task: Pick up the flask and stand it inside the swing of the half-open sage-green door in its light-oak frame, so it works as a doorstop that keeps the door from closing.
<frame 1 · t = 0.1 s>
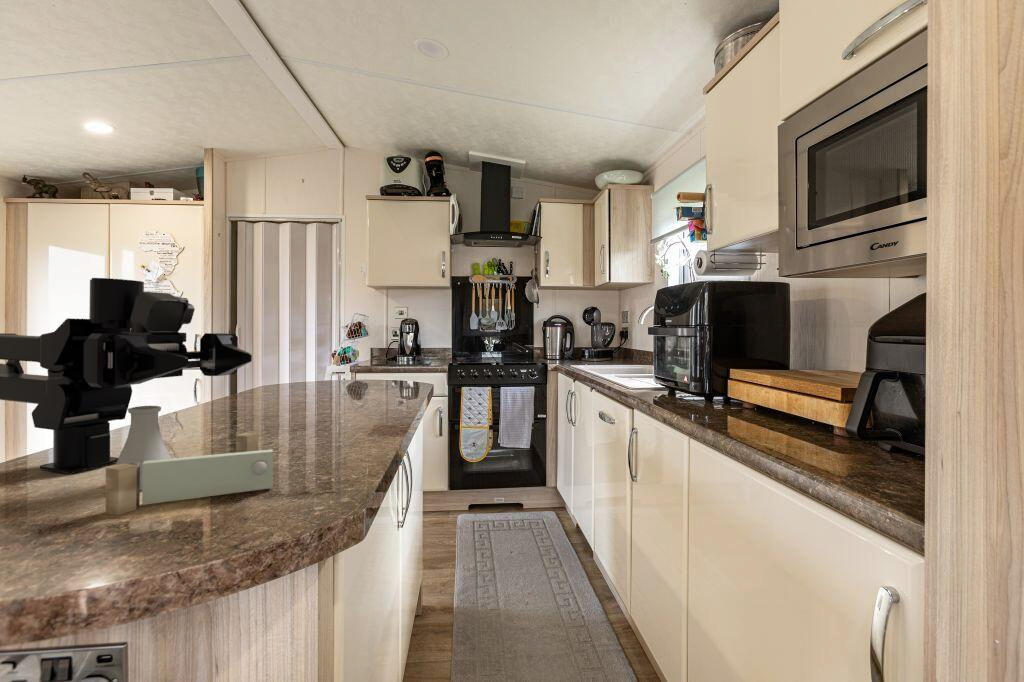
hand: (221, 359, 59), 17 cm above the counter, tool horizontal, fingers open, 9 cm apart
door frame: (134, 506, 52), on the counter
flask: (144, 484, 60), on the counter
door: (211, 476, 55), point 3 cm above the counter, hinge at 45.0°
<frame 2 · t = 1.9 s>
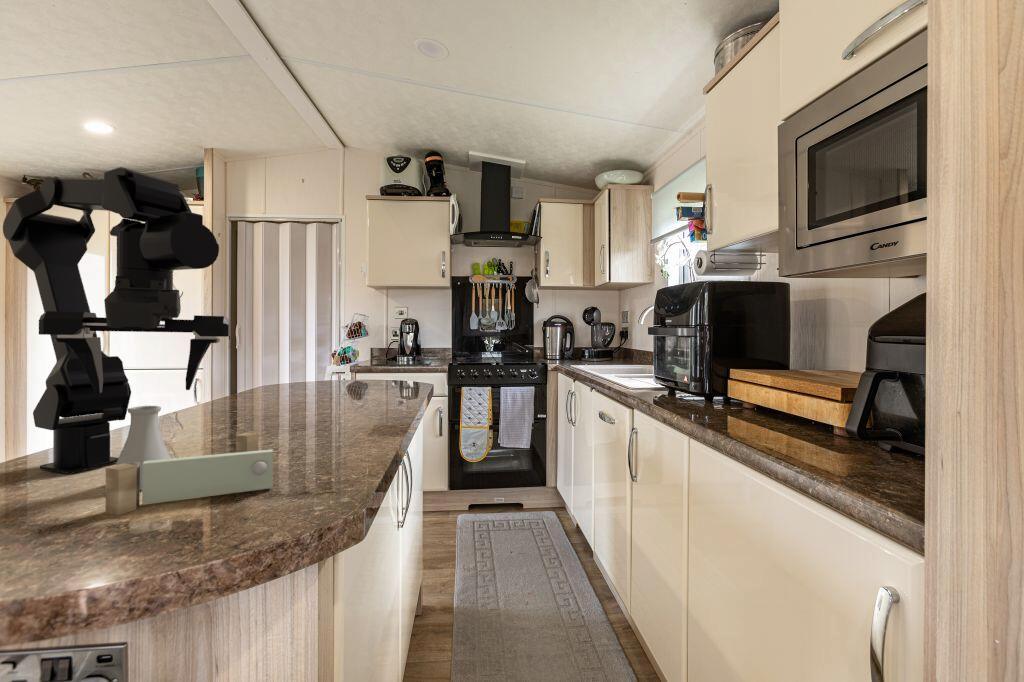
hand: (145, 391, 60), 12 cm above the counter, tool pointing down, fingers open, 9 cm apart
nothing on the counter moved.
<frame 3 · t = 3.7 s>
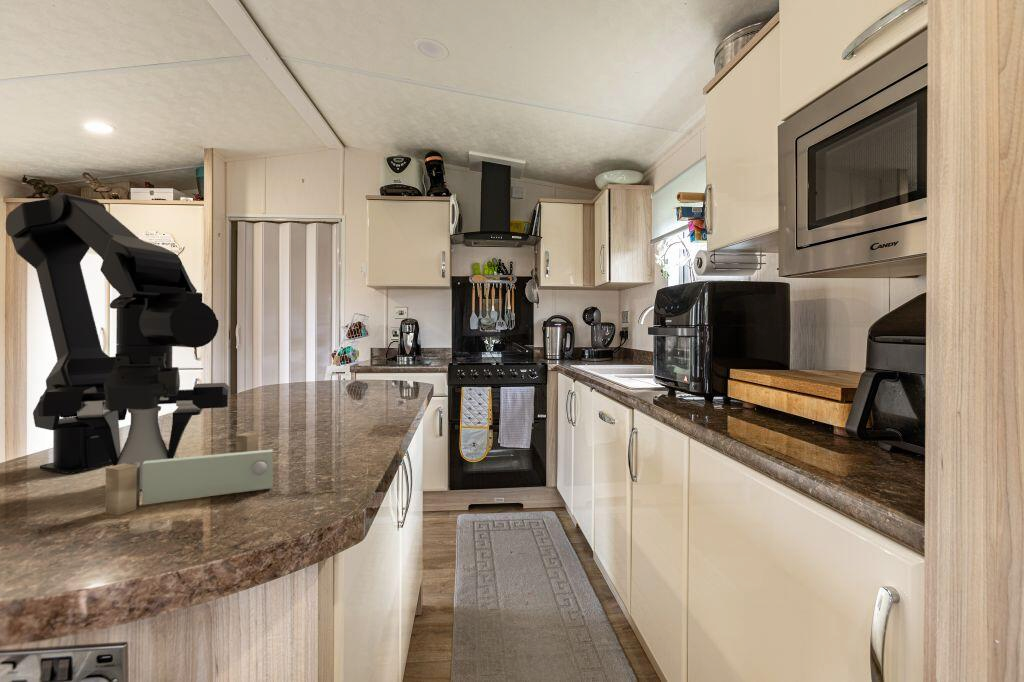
hand: (144, 463, 60), 3 cm above the counter, tool pointing down, fingers closed on flask, 5 cm apart
flask: (144, 484, 60), on the counter, touching gripper
everything else where it was.
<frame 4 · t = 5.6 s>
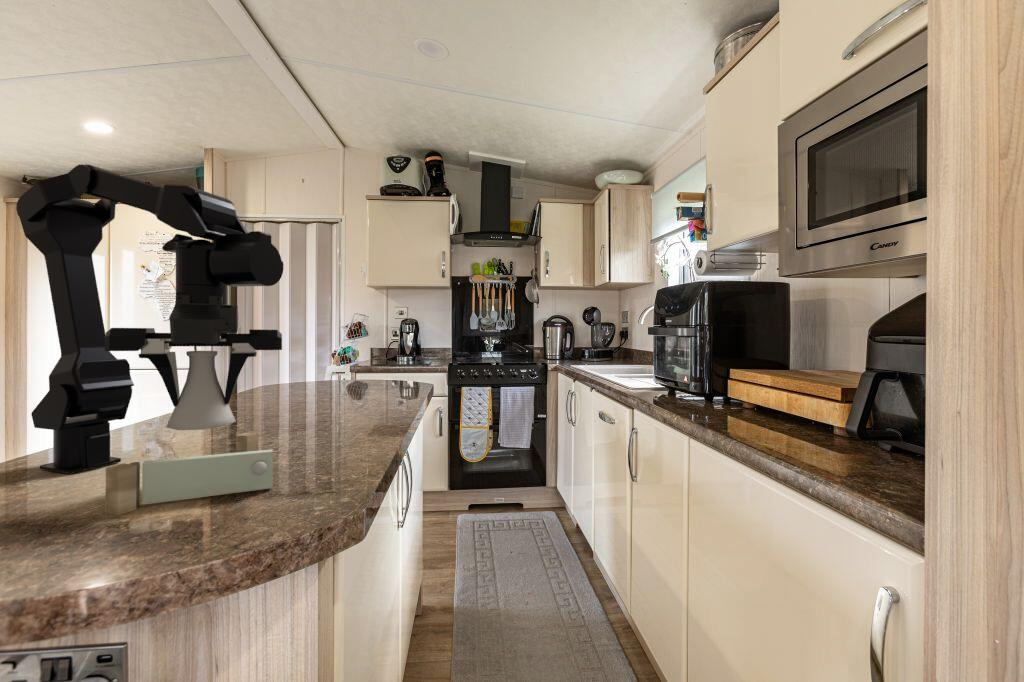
hand: (202, 404, 61), 10 cm above the counter, tool pointing down, fingers closed on flask, 5 cm apart
flask: (202, 427, 61), point 7 cm above the counter, touching gripper
everything else where it was.
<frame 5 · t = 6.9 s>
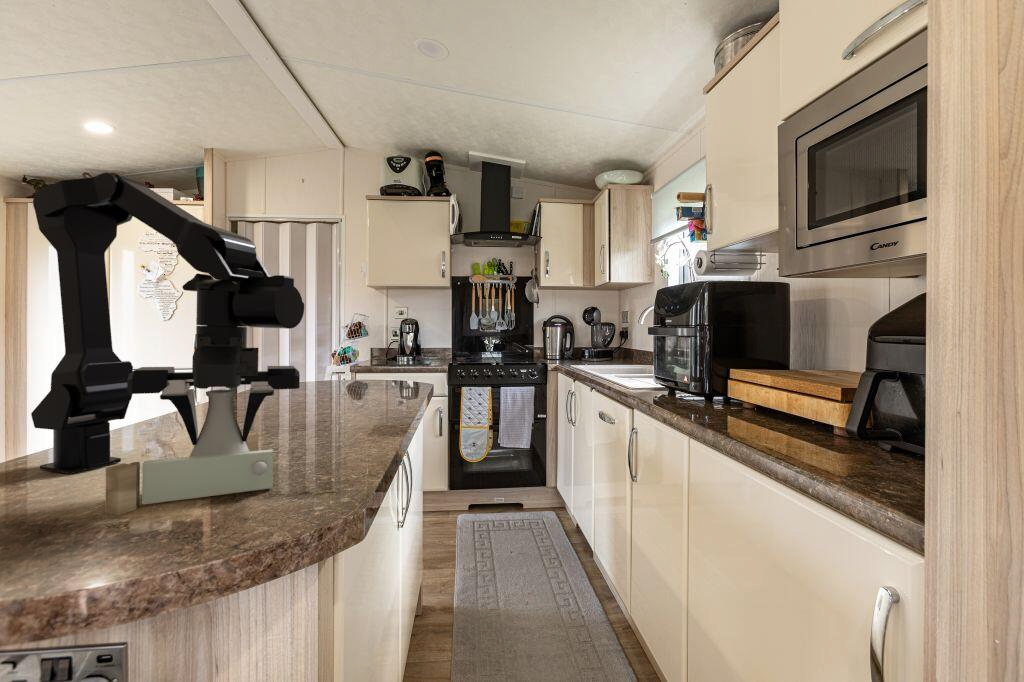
hand: (220, 442, 61), 5 cm above the counter, tool pointing down, fingers closed on flask, 5 cm apart
flask: (219, 466, 61), point 2 cm above the counter, touching gripper
everything else where it was.
when the fingers open (4 cm above the counter, at t = 7.6 s): flask stays where it is, on the counter.
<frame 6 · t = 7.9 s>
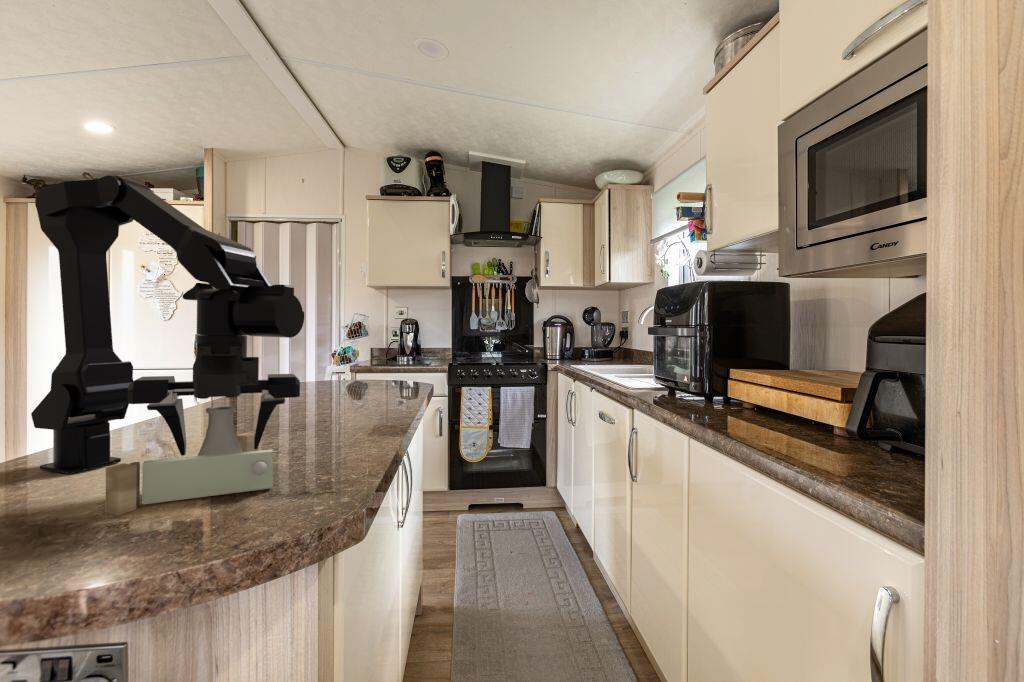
hand: (220, 451, 61), 4 cm above the counter, tool pointing down, fingers open, 8 cm apart
flask: (219, 483, 62), on the counter
everything else where it was.
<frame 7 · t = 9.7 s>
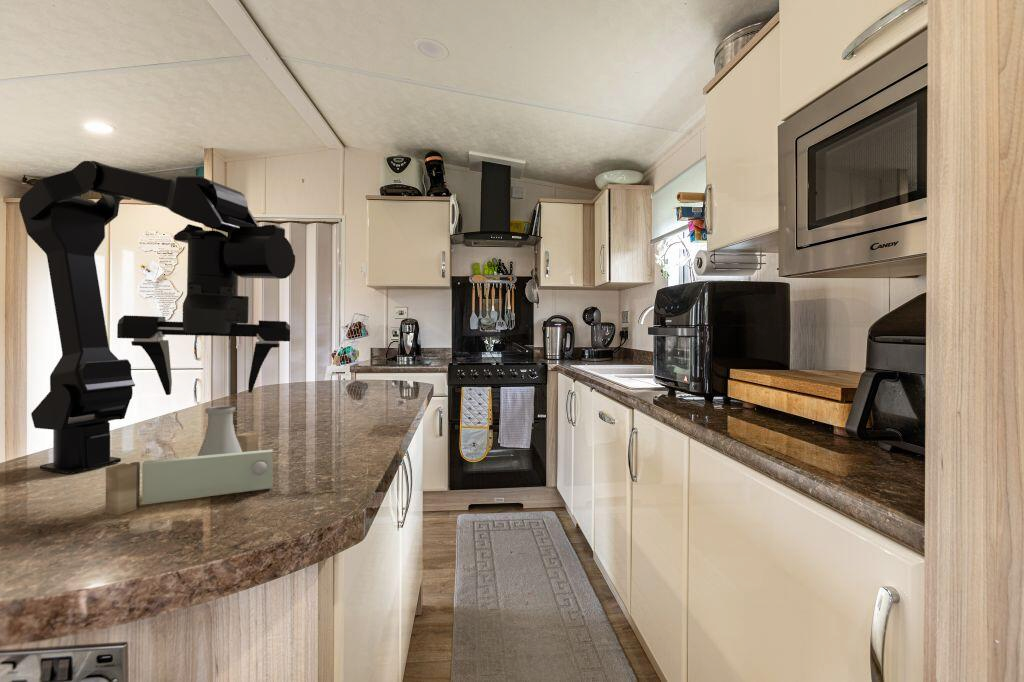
hand: (210, 393, 62), 12 cm above the counter, tool pointing down, fingers open, 9 cm apart
nothing on the counter moved.
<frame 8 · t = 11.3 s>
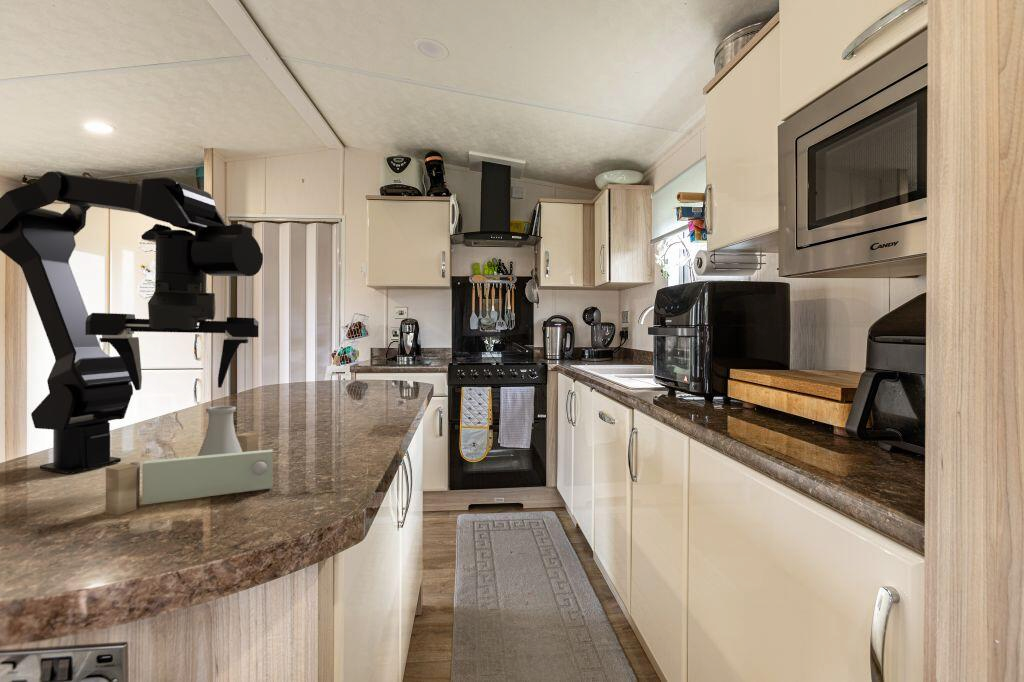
hand: (180, 388, 63), 12 cm above the counter, tool pointing down, fingers open, 9 cm apart
nothing on the counter moved.
at the end: flask 0.2 cm from the target spot, on the counter; flask tilted 0°; door at +45° (first picture: +45°) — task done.
